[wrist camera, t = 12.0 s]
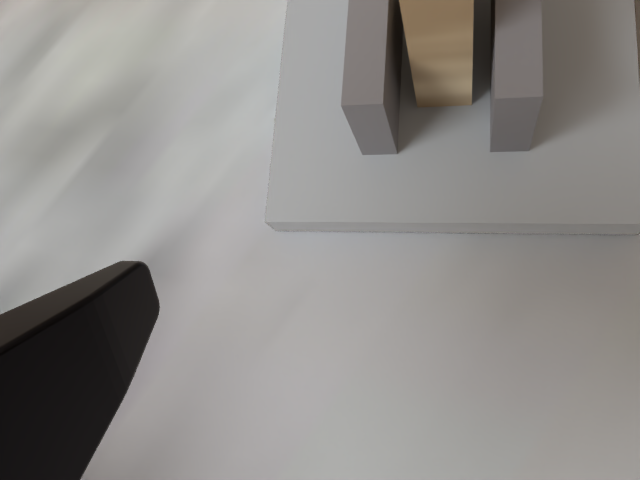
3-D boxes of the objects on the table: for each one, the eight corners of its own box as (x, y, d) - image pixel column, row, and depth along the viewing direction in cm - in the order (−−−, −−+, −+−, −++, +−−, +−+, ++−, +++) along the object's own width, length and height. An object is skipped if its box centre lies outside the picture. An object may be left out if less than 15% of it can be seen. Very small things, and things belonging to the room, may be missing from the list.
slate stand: (637, 234, 15) (693, 182, 11) (275, 230, 18) (223, 186, 14) (618, -83, 18) (660, -214, 14) (302, -47, 20) (264, -149, 16)
